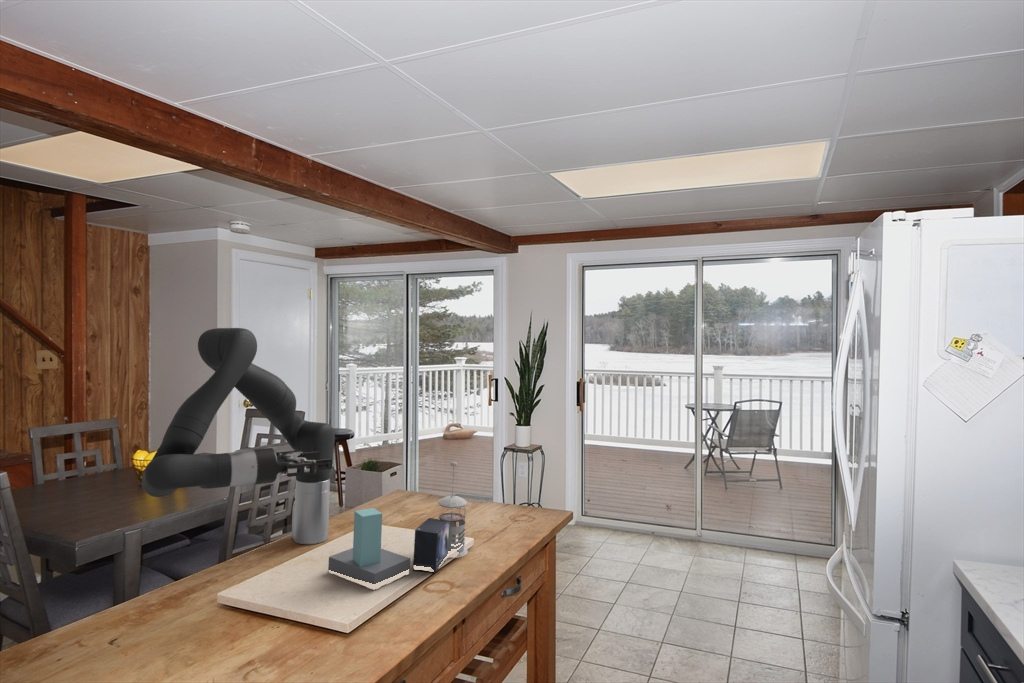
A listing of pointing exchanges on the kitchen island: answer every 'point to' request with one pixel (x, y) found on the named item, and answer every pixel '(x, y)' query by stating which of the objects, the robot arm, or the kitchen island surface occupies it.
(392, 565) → the grey flat block
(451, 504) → the french press
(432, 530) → the small box
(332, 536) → the kitchen island surface
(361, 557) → the teal block
